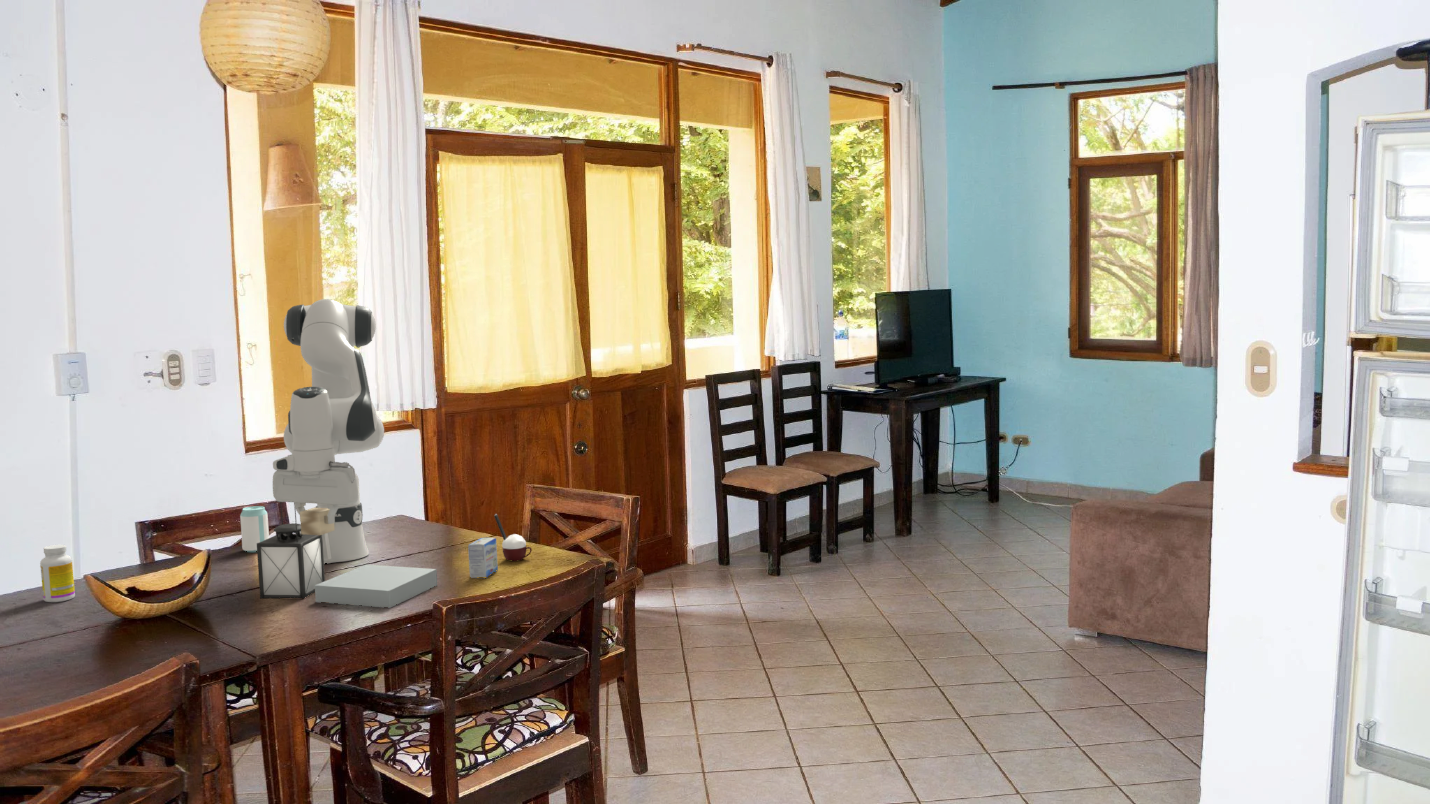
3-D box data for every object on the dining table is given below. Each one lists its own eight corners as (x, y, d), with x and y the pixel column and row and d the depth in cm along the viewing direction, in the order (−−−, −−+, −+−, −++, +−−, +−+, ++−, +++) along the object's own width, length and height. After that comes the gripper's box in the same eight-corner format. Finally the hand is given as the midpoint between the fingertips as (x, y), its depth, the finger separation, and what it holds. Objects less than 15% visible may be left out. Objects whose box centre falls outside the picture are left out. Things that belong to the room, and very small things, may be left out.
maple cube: (301, 534, 255) (299, 511, 254) (315, 529, 260) (314, 507, 259) (320, 535, 253) (319, 512, 253) (334, 530, 258) (333, 508, 257)
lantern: (282, 586, 284) (275, 473, 281) (326, 586, 282) (318, 473, 279) (259, 599, 273) (251, 482, 270) (304, 599, 271) (296, 481, 268)
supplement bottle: (81, 596, 278) (77, 544, 277) (58, 604, 272) (53, 550, 270) (60, 594, 280) (56, 542, 279) (36, 602, 274) (32, 549, 273)
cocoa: (534, 560, 306) (535, 515, 305) (520, 564, 301) (520, 519, 300) (505, 555, 311) (506, 511, 309) (491, 559, 305) (491, 514, 304)
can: (237, 550, 323) (235, 508, 321) (261, 546, 328) (259, 504, 327) (250, 554, 318) (247, 511, 317) (274, 549, 323) (271, 507, 322)
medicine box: (486, 579, 286) (484, 544, 285) (469, 578, 287) (467, 544, 286) (498, 571, 294) (496, 537, 293) (481, 570, 295) (480, 537, 294)
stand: (315, 602, 268) (314, 585, 268) (367, 580, 287) (366, 564, 287) (389, 608, 262) (388, 590, 262) (437, 585, 281) (436, 569, 281)
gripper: (362, 460, 254) (366, 521, 256) (285, 457, 261) (289, 517, 262) (345, 465, 248) (348, 528, 250) (266, 462, 255) (270, 523, 256)
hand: (317, 522), depth 256 cm, fingers closed on maple cube, 5 cm apart
